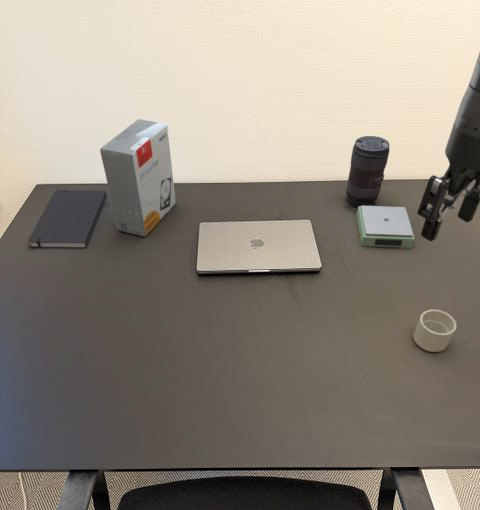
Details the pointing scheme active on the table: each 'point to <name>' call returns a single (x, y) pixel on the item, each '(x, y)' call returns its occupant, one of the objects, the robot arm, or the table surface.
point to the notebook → (68, 219)
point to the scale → (385, 227)
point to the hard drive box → (139, 176)
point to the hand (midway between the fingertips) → (446, 228)
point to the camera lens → (367, 170)
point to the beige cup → (434, 330)
